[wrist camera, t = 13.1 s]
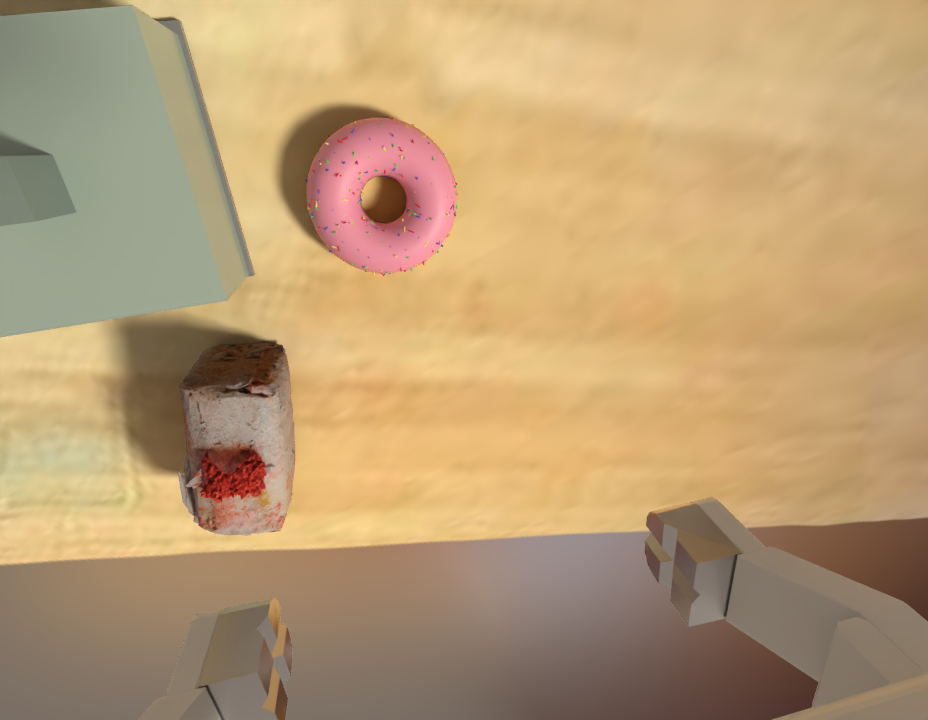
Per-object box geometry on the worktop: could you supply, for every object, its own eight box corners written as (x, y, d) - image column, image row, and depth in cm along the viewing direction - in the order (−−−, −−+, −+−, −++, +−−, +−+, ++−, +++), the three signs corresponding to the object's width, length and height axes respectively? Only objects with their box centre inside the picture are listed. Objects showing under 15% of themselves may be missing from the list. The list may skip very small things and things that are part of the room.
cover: (-100, 60, 30) (-336, 12, 19) (177, 35, 32) (95, -20, 22) (24, 309, 36) (-105, 372, 26) (249, 275, 38) (210, 319, 28)
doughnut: (399, 86, 36) (404, 79, 32) (477, 217, 41) (490, 224, 37) (276, 175, 36) (267, 177, 33) (368, 294, 41) (369, 308, 37)
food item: (303, 478, 46) (292, 556, 37) (210, 484, 45) (175, 567, 36) (294, 340, 41) (277, 392, 32) (188, 341, 40) (140, 396, 31)
